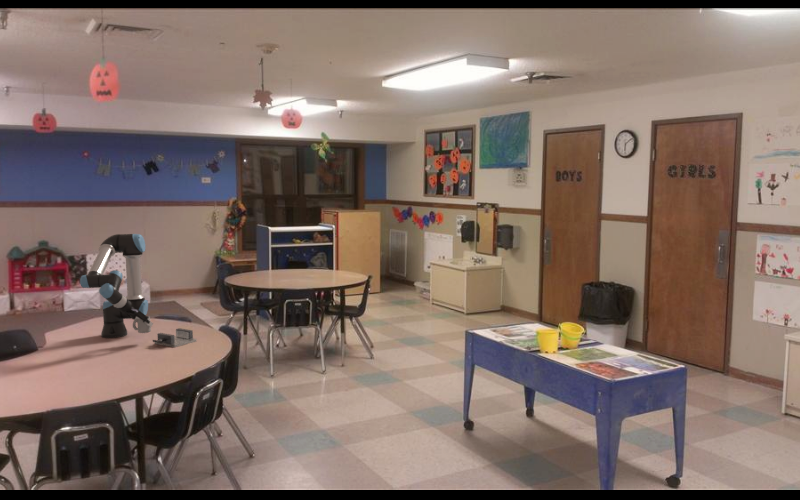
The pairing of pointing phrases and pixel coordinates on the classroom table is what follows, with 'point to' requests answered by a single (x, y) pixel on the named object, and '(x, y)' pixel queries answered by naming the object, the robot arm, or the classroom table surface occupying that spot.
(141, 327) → the cup
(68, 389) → the classroom table surface
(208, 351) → the classroom table surface
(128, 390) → the classroom table surface
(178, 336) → the vise
